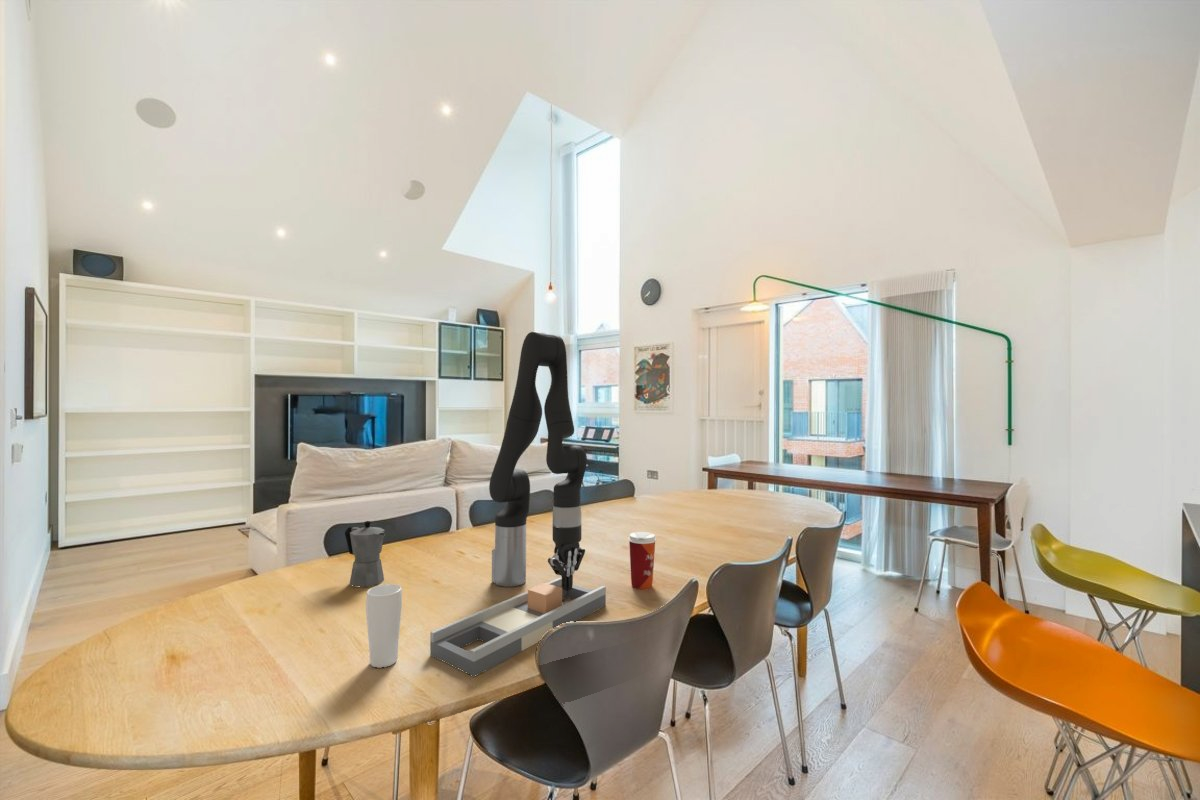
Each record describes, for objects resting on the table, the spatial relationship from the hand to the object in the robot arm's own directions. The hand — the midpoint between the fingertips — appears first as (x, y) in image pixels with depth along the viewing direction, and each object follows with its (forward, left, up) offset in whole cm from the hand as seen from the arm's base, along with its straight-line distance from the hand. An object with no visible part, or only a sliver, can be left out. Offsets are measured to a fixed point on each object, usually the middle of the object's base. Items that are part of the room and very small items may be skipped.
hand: (567, 589), depth 133 cm
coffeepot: (-63, -11, -5) cm, 64 cm away
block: (-2, -8, -2) cm, 8 cm away
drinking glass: (-20, -41, -5) cm, 46 cm away
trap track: (-3, -14, -5) cm, 15 cm away
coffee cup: (+11, +24, -5) cm, 27 cm away
